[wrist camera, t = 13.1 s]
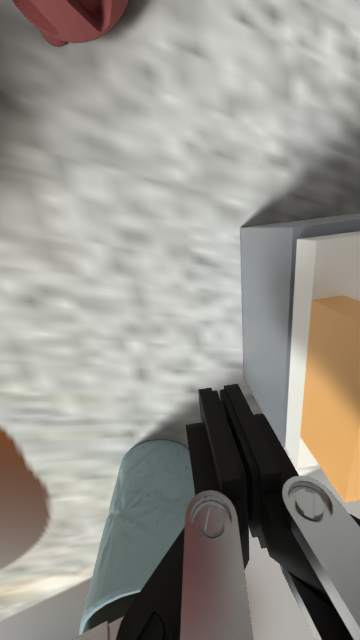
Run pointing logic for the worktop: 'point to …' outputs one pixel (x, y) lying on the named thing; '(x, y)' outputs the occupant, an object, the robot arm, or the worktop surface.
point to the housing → (275, 306)
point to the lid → (326, 361)
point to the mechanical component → (72, 18)
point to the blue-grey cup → (138, 527)
